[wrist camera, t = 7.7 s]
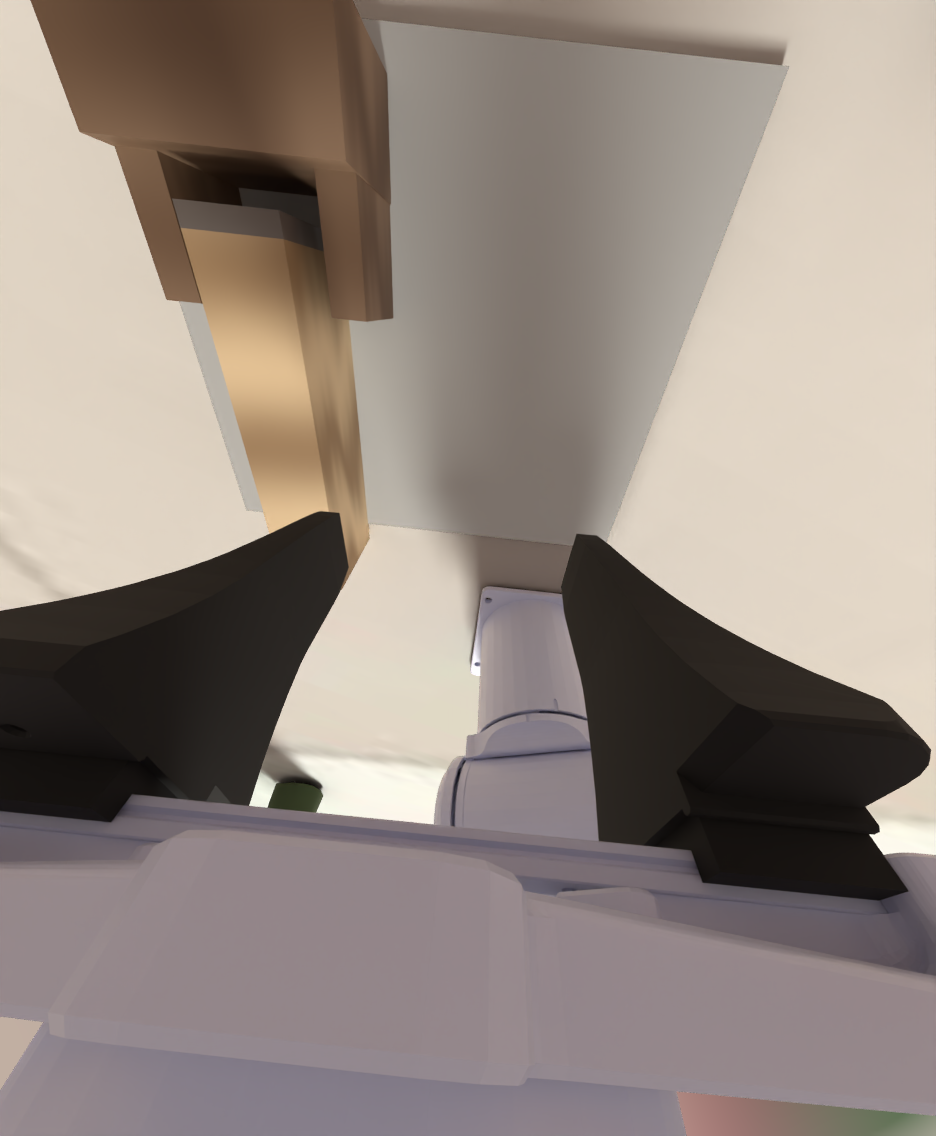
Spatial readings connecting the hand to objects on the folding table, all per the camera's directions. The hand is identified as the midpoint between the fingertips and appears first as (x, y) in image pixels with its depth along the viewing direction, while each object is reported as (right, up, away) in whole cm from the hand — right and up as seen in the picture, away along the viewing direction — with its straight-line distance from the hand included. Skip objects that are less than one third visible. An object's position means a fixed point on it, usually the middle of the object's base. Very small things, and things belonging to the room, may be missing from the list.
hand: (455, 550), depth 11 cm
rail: (-7, +7, +7) cm, 12 cm away
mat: (-1, +9, +6) cm, 11 cm away
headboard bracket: (-6, +13, +3) cm, 15 cm away
